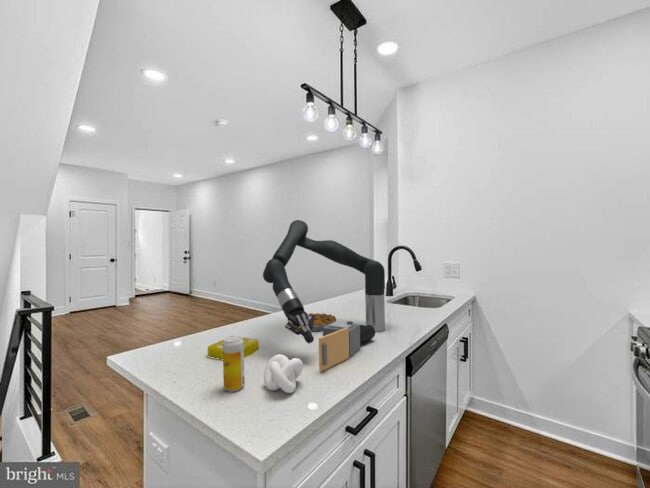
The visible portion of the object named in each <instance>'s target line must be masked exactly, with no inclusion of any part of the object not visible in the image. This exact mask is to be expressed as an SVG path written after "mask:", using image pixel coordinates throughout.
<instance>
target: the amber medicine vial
mask: <svg viewBox="0 0 650 488" xmlns="http://www.w3.org/2000/svg"><path fill="white" fill-rule="evenodd" d="M231 336H232V337H231ZM231 336H228V337H226V338H223V340H224V341H223V360H222V367H223V369H222V372H223V373H222V374H223V376H222V378H223V389H225V391H226V390H227V391H226V392H228V391H229V393H233V392H234V393H235V392H239V391H241V390H242V389H243V388H244V386H245V385H246V384H245V381H246V380H245V358H244V345H243V340H242V337H243V336H239V335H234V336H233V335H231ZM240 389H241V390H240ZM238 390H239V391H238Z"/></svg>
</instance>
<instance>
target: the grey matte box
mask: <svg viewBox="0 0 650 488" xmlns="http://www.w3.org/2000/svg"><path fill="white" fill-rule="evenodd" d="M360 325H361V324H357V323H355V322H353V321H352V320H348V321H340V320H336V322H335V321H334V322H332V323H330V324H329V325H327V326H325V327H323V331H322V337H323V336H325V335H328V334H331V333H333V332H336V331H339V330H341V329H344V328H349V358H348V359H351V358H352V357H354V356H355V355H356V354H357V353H358V352H359V351H360V350H361V344H360Z"/></svg>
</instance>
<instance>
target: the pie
mask: <svg viewBox="0 0 650 488" xmlns="http://www.w3.org/2000/svg"><path fill="white" fill-rule="evenodd" d="M307 314H308V313H307ZM308 315H309V316H312V315H313V316H314V325H313V328H312V330H311V331H310V332H323V327H325V326H327V325H329V324H330V323H332V322H334V321H335V322H336V321H337V318H336V315H332V314H327V313H324V312H323V313H319V312H318V313H313V312H311V313H309V314H308ZM307 322H308V319H307ZM308 323H309V322H308Z"/></svg>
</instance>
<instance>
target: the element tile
mask: <svg viewBox="0 0 650 488" xmlns="http://www.w3.org/2000/svg"><path fill="white" fill-rule="evenodd" d="M232 336H233V335H231V336H230V337H232ZM241 337H242V340H243V345H244V359H246V358H247V357H249V356H251V355H253V354H254V353H256V352H257V351H259V349H260V348H259V347H260V346H259V339H258V338H257V339H255V338H250V337H249V338H248V337H243V336H241ZM223 341H224V339H222V340H219V341H217V342H214V343H213V344H210V345H208V346H207V357H208V356H210V357H214V358H219V359H223Z"/></svg>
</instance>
